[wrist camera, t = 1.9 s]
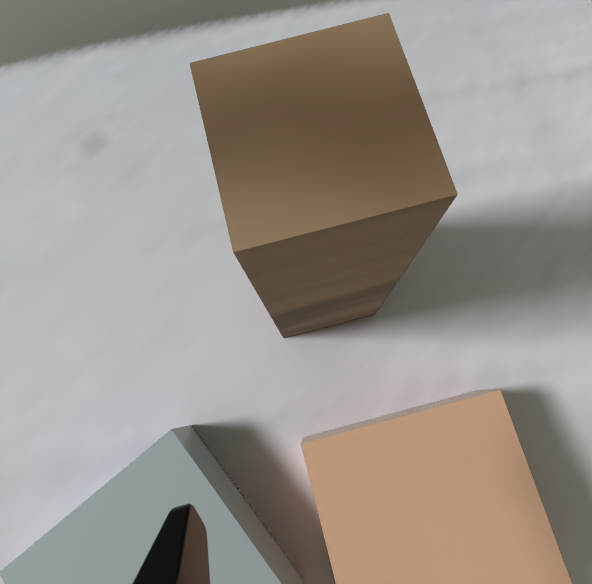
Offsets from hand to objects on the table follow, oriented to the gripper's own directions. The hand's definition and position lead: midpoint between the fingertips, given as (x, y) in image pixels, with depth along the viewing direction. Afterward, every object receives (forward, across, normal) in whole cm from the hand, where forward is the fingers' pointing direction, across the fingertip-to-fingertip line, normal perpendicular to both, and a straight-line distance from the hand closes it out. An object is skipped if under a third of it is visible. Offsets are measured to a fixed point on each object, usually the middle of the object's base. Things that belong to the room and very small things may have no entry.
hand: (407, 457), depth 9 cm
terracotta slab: (+6, -2, +13) cm, 14 cm away
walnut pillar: (+15, 0, +4) cm, 15 cm away
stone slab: (+6, +10, +12) cm, 17 cm away
